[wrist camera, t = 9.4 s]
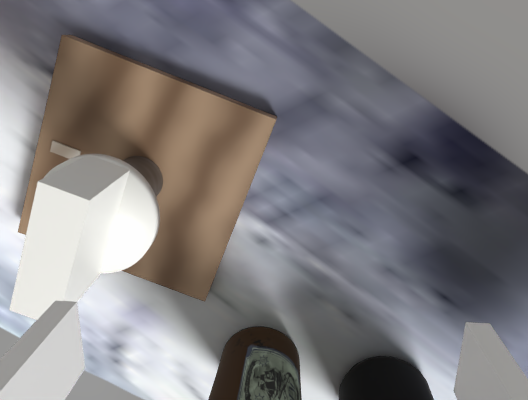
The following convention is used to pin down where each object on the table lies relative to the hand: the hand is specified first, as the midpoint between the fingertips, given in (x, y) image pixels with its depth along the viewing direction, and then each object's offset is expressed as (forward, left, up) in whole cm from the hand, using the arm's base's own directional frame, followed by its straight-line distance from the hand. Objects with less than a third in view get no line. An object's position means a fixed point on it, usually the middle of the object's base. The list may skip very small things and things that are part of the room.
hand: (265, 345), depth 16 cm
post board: (+13, +9, -35) cm, 38 cm away
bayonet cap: (+13, +9, -23) cm, 28 cm away
